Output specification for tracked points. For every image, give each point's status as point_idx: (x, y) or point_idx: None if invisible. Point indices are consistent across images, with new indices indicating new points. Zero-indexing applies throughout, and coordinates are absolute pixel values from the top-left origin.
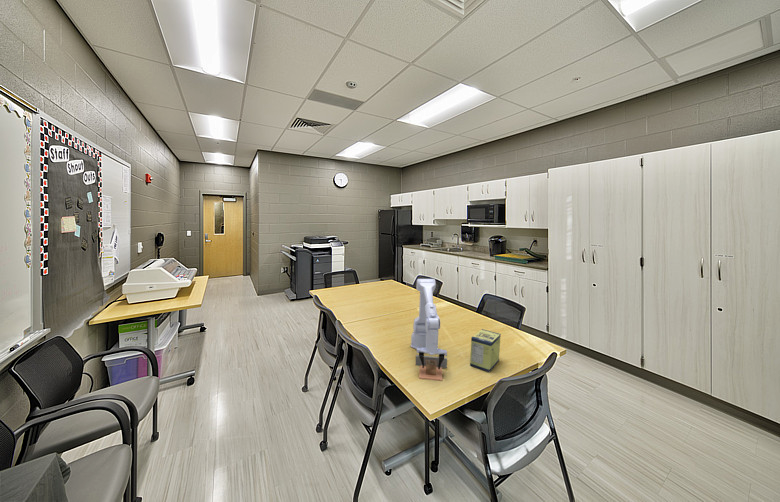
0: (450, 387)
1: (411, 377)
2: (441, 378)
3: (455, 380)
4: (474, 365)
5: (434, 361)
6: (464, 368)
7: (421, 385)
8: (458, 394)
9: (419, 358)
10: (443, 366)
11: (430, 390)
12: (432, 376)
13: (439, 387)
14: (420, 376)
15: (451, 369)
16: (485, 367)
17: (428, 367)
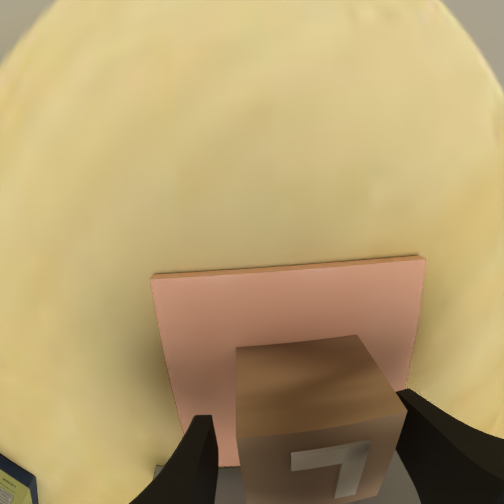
0: (65, 168)
1: (476, 254)
2: (165, 301)
3: (41, 310)
4: (5, 468)
5: (272, 502)
6: (46, 459)
7: (390, 123)
8: (11, 83)
9: (412, 489)
10: None
11: (283, 45)
12: (278, 317)
13: (179, 125)
14: (412, 278)
15: (117, 455)
16: None
17: (357, 393)
